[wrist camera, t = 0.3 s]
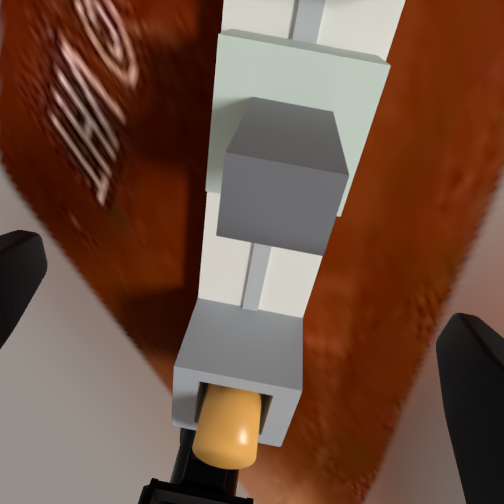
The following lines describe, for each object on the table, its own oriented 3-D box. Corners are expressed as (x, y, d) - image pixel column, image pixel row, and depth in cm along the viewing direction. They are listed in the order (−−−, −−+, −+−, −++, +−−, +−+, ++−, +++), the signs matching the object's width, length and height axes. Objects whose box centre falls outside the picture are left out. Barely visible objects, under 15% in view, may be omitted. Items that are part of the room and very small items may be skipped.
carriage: (336, 189, 18) (356, 312, 11) (217, 166, 18) (162, 275, 11) (377, 55, 15) (446, 108, 8) (231, 28, 15) (164, 56, 8)
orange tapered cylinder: (260, 387, 25) (250, 473, 20) (211, 378, 25) (190, 462, 20) (269, 355, 23) (260, 442, 18) (215, 345, 23) (194, 430, 18)
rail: (285, 358, 29) (280, 446, 23) (197, 341, 29) (171, 425, 23) (422, -82, 14) (505, -137, 8) (240, -115, 14) (197, -193, 8)
